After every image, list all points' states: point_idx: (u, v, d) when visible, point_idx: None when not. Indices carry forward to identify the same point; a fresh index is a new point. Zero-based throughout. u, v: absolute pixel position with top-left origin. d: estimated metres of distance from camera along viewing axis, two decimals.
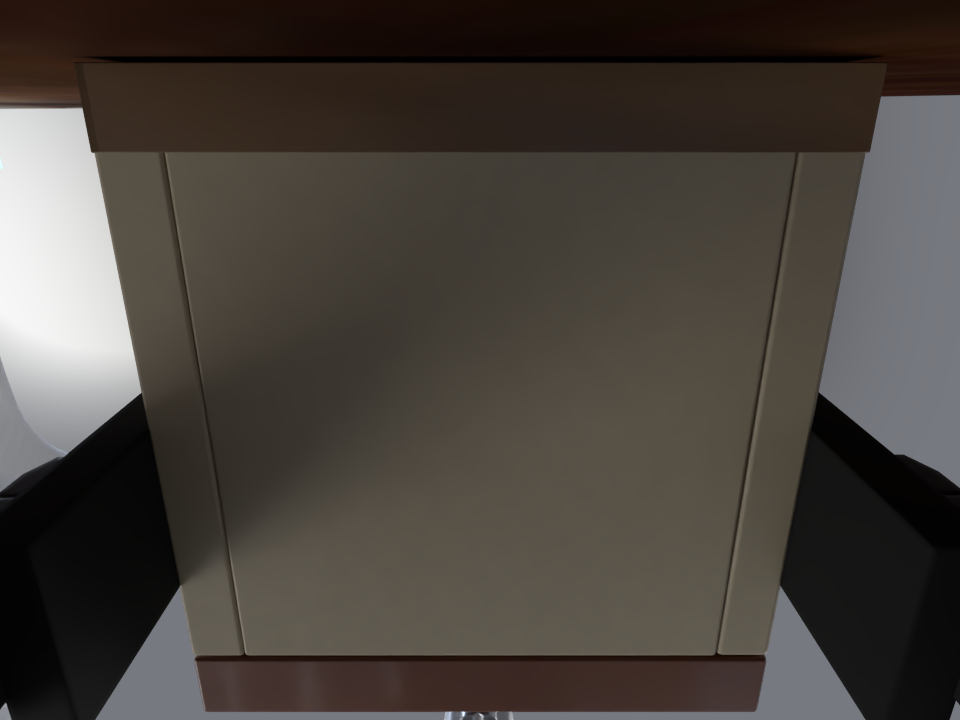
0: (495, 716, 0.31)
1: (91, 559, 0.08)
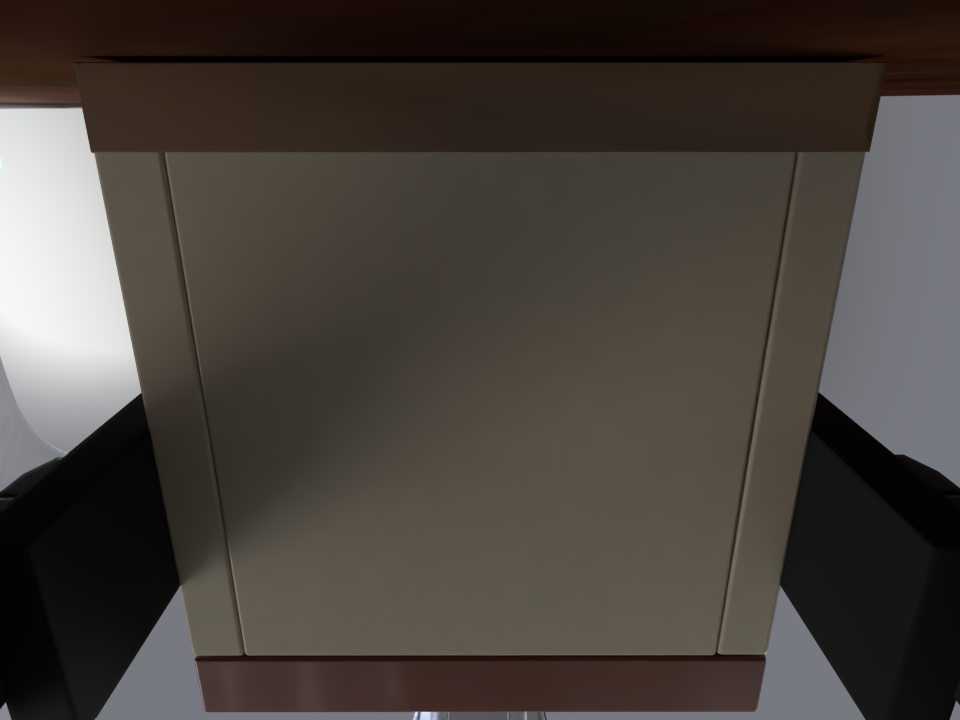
0: None
1: (92, 559, 0.08)
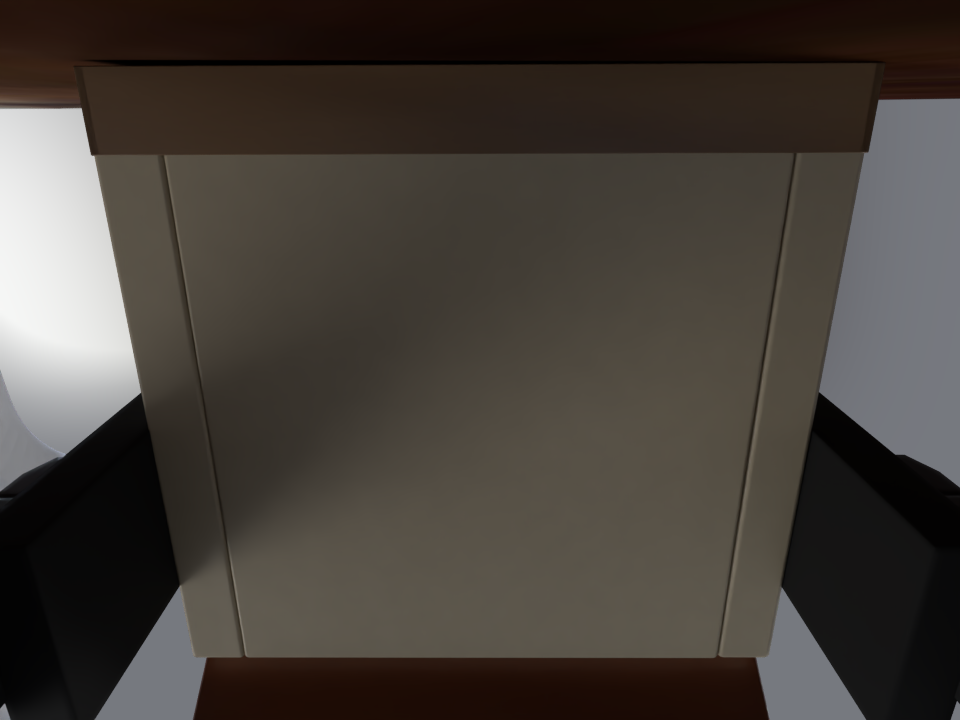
0: None
1: (90, 559, 0.08)
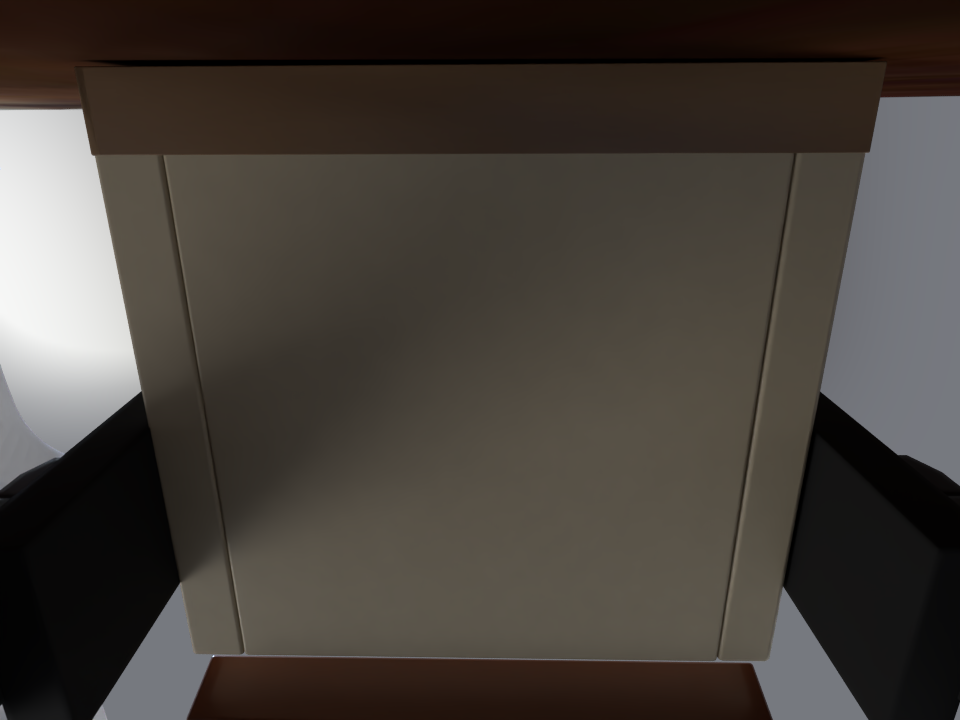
0: None
1: (87, 560, 0.08)
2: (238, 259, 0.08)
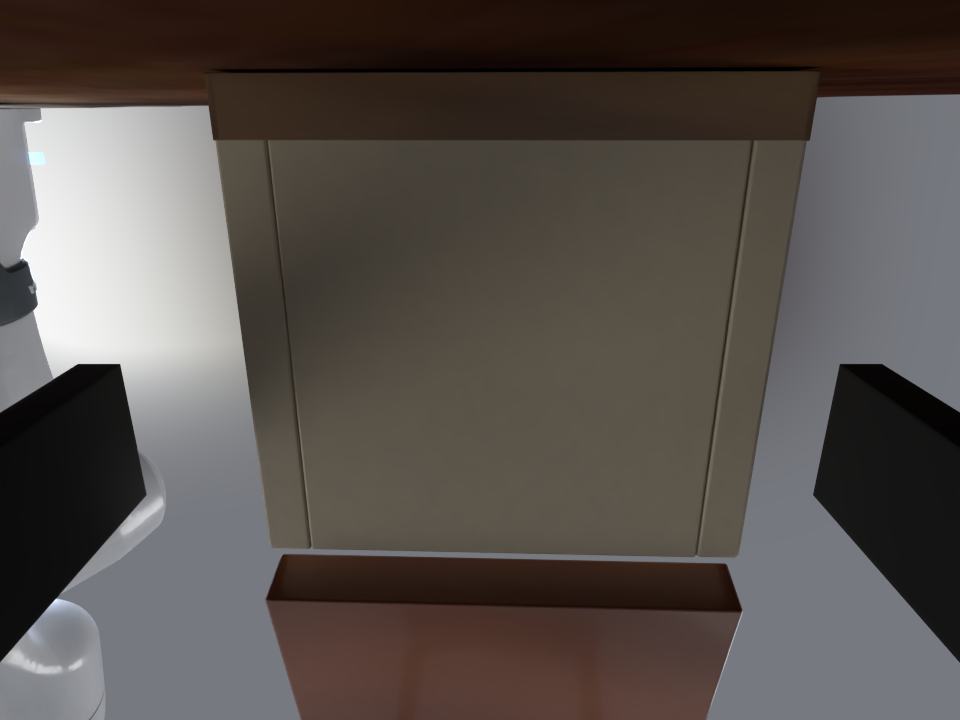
0: None
1: None
2: (321, 221, 0.11)
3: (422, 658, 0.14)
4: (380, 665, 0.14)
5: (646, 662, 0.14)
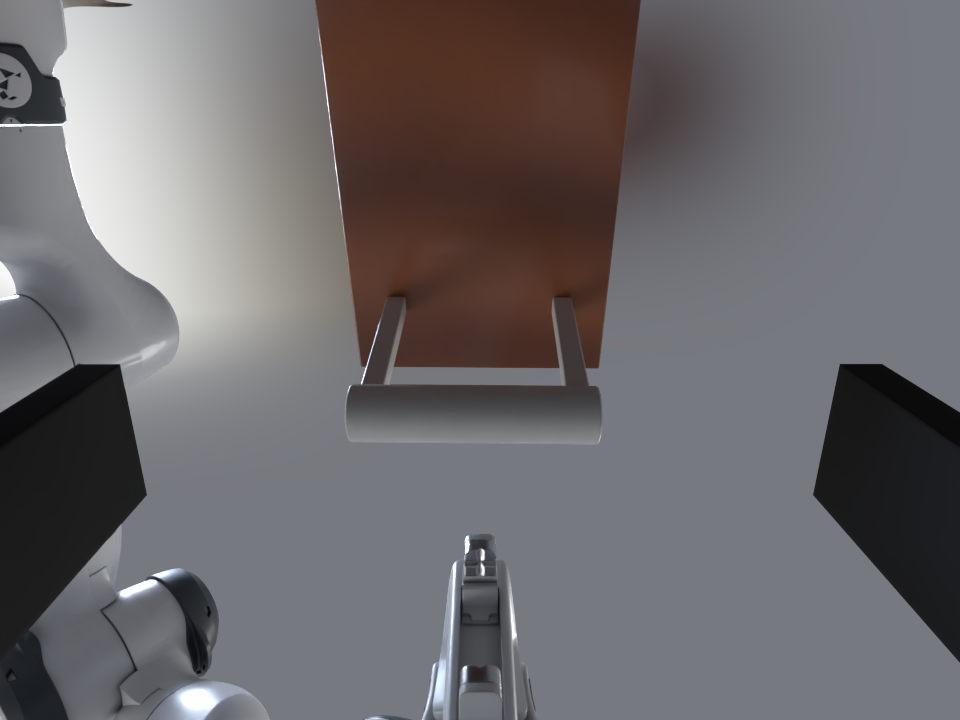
0: (494, 552, 0.36)
1: None
2: None
3: (421, 40, 0.20)
4: (391, 51, 0.20)
5: (580, 38, 0.19)
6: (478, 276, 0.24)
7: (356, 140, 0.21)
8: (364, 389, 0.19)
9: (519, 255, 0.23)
